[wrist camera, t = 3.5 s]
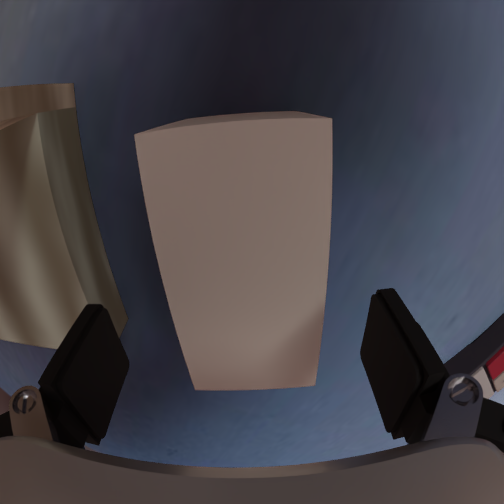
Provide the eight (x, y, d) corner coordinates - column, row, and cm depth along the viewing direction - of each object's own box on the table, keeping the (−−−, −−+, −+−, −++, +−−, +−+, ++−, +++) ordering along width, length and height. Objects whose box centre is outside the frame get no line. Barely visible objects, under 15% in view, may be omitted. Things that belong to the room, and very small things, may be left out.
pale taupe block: (295, 110, 15) (331, 118, 8) (296, 306, 21) (313, 398, 14) (187, 118, 15) (133, 134, 8) (213, 310, 22) (199, 402, 14)
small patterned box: (552, 339, 21) (471, 417, 26) (535, 320, 25) (458, 394, 30) (553, 295, 18) (452, 395, 22) (530, 274, 22) (436, 367, 26)
